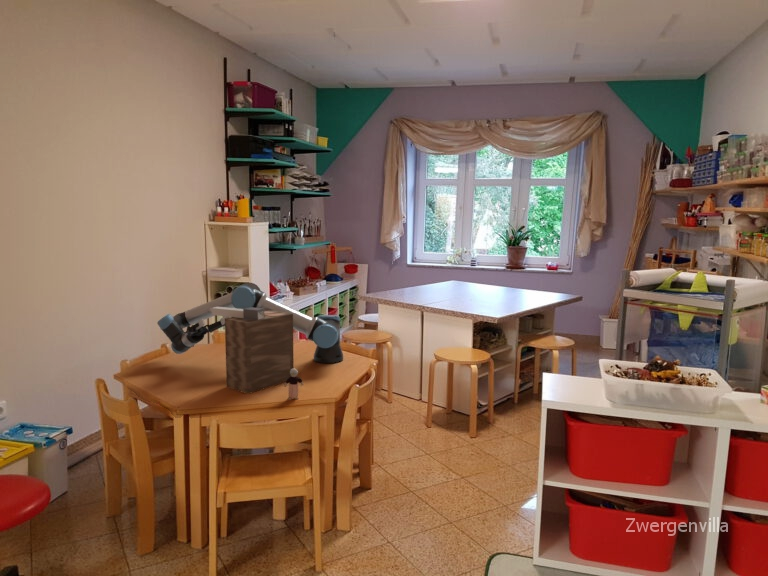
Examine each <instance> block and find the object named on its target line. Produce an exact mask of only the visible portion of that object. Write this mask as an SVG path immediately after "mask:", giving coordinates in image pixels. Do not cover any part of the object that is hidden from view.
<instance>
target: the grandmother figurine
mask: <svg viewBox="0 0 768 576" xmlns="http://www.w3.org/2000/svg"><path fill="white" fill-rule="evenodd" d="M290 374H291V376H292V377H289V378H288V379H287V381H286V382H284V387H285V388H286V387H287V386H288V397H287V398H286V399H287V401H288V400H289V401H291V400H299V384H300V385H301V386H304V382H303V379H302V378H300V377H299V376H298V374H299V371H298V369H296V368H295V367H294V368H293V369H291V370H290ZM288 384H289V385H288Z"/></svg>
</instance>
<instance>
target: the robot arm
mask: <svg viewBox="0 0 768 576" xmlns="http://www.w3.org/2000/svg"><path fill="white" fill-rule="evenodd" d="M214 307H227V308H237V309H245V308H249V307H254V308H264V311H270V310H274V311H279V312H285V313H291V314H293V330H295V331H297V332H299V333H301V334H303V335H305V337H306V339H307V340H309V341H312V342H314V344H315V345H316V348H315V351H314V353H313V360H314V362H317V363H320V364H335V362H336V363H339V361H340V362H342V361H343V360H344V352H343V350H342V347H341V318H340V317H341V316H339V315H335V314H320V315H317V316H314V317H311V316H309V315H307V314H305V313H303V312H300V311H298V310H296V309H295V308H292V307H289V306H287V305H285V304H283V303H281V302H278V301H277V300H273V299H272V298H270V297H268V296H267V294H266V292H265V291H262V290H261V289H260V287H259V286H258V285H257V284H255V283H253V282H245V283H243V284H241V285H239V286H237V287H236V288H234V289H232V290H231V291H230V293H228V294H227V293H226V294H225V295H223V296H220V297H217V298H215V299H213V300H210V301H207V302H205V303H202V304H200V305H198V306H197V305H196V307H193V308H191V309H187V310H186V311H184V312H179V313H176V314H175V315H174V316H173V315H171V314H170V313H168V314H166V315H165V316H162V318H160V319H159V320H158V321H157V322H156V323H157V325H158V326H159V328H160V330H161V331H162V332H163V334H165V336H166V337H167V338H168V339H169V340H170V342H171V343H170V344H171V345H170V346H171V347H170V348H171V349H172V351H173V353H175V354H178V355H182V354H184V353H186V352H188V351H189V350H190V349H191V348H194V347H195V345H197V344H198V343H199V342H201V341H203V339H204V338H205V335H207V334H208V333H213V332H214V331H216V330H219V329H221V328H223V327H225V318H230V317H228V316H222V317H221V318H220V319H219V320H217V321H216V322H213V323H211V324H206V323H205V320H207V319H209V318H213V317H215V316H216V315H212V313H210V312H209V310H210V308H214ZM184 329H186V331H185V330H184Z"/></svg>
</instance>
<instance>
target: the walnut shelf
mask: <svg viewBox="0 0 768 576" xmlns="http://www.w3.org/2000/svg"><path fill="white" fill-rule="evenodd" d="M224 335H225V338H224V339H225V372H226V373H225V374H226V375H225V376H226V377H225V378H226V388H228V387H229V388H228V389H231V388H232V389H233V390H235V391H238V390H239V391H238V392H241V391H242V392H241V393H244V392H245V394H247V395H248V393H249V394H251V392H252V393H254V392H255V393H256V392H257V391H260V390H264V389H266V388H270V386H271V387H273V385H274V386H276V385H279V384H282V383H283V384H284V383H285V382H286V381H287V379H288V378H289V377H292V376H291V374H290V370H291V369H293V368H295V367H294V366H295V365H294V359H295V358H294V329H293V314H291V313H285V312H279V311H274V310H270V311H264V318H262V319H259V320H255V319H245V318H238V317H230V318H225V326H224ZM263 388H264V389H263Z"/></svg>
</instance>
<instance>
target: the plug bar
mask: <svg viewBox="0 0 768 576" xmlns="http://www.w3.org/2000/svg"><path fill="white" fill-rule="evenodd" d="M209 312H210V313H212V315H215V316H217V317H218V316H220V317H224V316H228V317H238V318H245V319H255V320H259V319H262V318H264V308H254V307H249V308H245V309H237V308H227V307H214V308H210V310H209Z"/></svg>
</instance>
